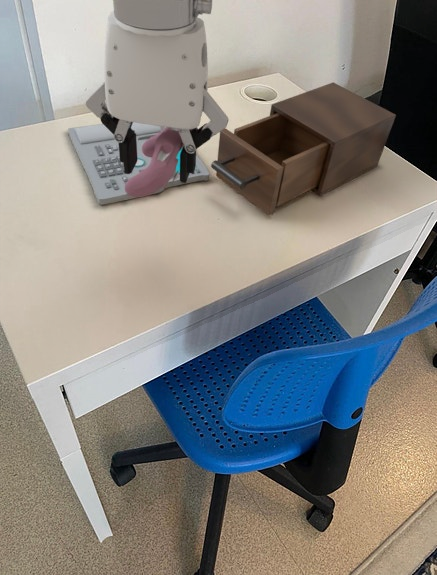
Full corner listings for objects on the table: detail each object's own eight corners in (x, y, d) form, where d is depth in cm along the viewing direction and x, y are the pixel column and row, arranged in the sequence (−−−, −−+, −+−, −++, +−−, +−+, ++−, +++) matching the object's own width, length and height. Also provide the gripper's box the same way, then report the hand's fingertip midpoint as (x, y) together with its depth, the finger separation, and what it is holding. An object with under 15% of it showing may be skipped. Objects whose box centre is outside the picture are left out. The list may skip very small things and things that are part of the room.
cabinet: (320, 196, 87) (335, 142, 79) (262, 157, 94) (271, 104, 86) (377, 166, 95) (396, 114, 87) (320, 132, 102) (333, 82, 94)
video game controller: (156, 214, 57) (184, 171, 52) (119, 194, 55) (145, 149, 51) (172, 166, 63) (199, 124, 59) (140, 148, 62) (165, 103, 57)
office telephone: (65, 121, 92) (166, 107, 99) (67, 134, 94) (167, 119, 100) (98, 192, 78) (214, 170, 85) (99, 206, 80) (213, 183, 86)
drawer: (249, 225, 78) (257, 179, 72) (196, 184, 85) (199, 137, 78) (330, 184, 88) (344, 139, 81) (277, 149, 94) (286, 105, 88)
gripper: (252, 3, 47) (234, 165, 60) (78, -21, 48) (97, 144, 61) (243, 32, 42) (225, 202, 55) (47, 5, 43) (76, 178, 56)
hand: (158, 170), depth 58 cm, fingers closed on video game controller, 5 cm apart
